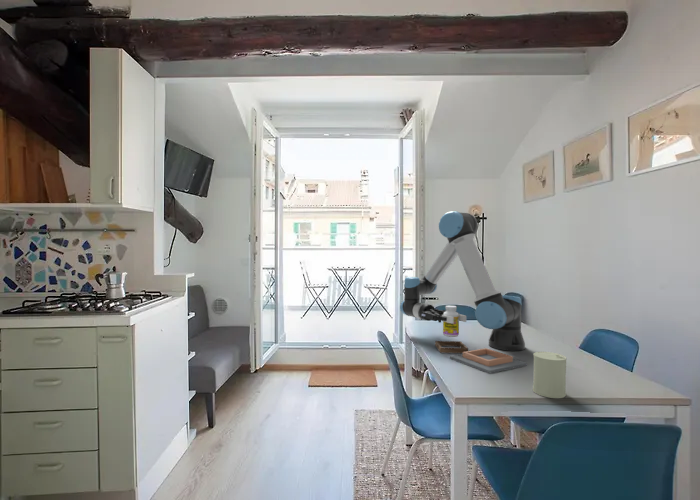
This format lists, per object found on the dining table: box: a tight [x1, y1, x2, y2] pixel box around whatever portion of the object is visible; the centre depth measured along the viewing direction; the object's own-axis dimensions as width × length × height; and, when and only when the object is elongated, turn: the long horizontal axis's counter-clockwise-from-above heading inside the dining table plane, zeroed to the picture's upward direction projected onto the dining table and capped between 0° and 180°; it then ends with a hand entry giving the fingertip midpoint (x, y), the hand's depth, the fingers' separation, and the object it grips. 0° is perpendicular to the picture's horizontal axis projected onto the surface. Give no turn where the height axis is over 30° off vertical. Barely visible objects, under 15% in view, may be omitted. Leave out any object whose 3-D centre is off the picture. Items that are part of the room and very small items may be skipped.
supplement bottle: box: [442, 305, 460, 338], centre depth 168 cm, size 7×7×13 cm
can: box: [532, 351, 567, 399], centre depth 120 cm, size 9×9×12 cm
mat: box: [449, 353, 527, 374], centre depth 150 cm, size 20×20×1 cm
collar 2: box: [462, 347, 514, 366], centre depth 150 cm, size 13×13×2 cm
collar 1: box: [434, 340, 469, 354], centre depth 168 cm, size 12×12×2 cm
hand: (459, 319), depth 163 cm, fingers closed on supplement bottle, 7 cm apart
